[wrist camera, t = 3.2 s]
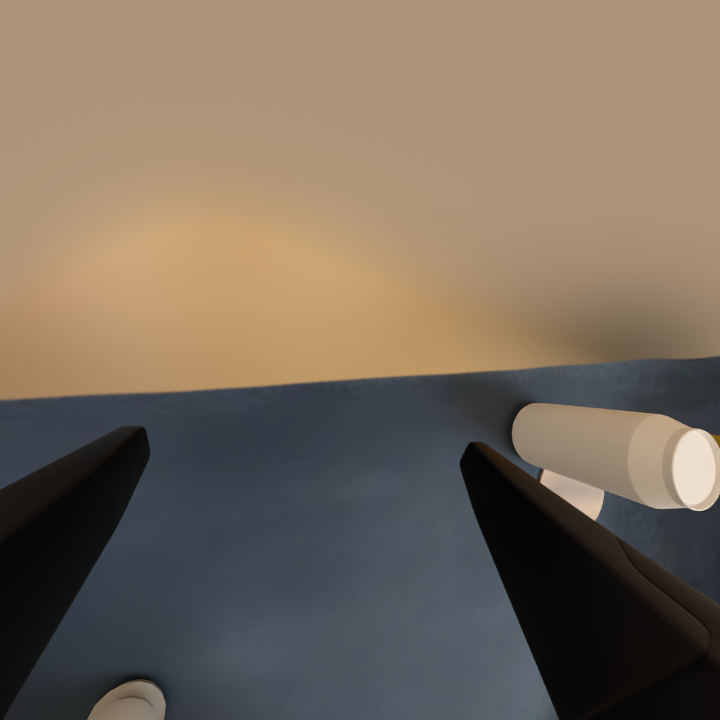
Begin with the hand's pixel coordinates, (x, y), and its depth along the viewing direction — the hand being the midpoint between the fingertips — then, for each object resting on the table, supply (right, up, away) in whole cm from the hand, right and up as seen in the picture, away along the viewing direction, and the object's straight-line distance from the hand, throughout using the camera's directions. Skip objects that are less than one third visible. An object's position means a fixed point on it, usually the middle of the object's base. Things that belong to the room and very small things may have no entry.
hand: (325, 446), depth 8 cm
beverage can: (+19, -5, +21) cm, 28 cm away
